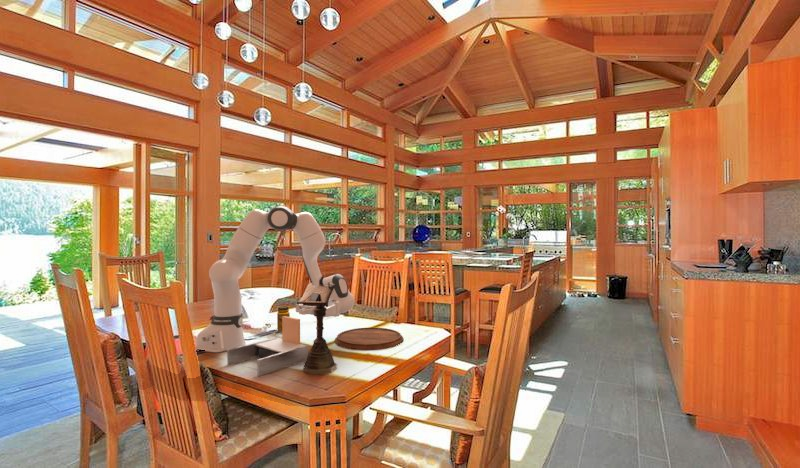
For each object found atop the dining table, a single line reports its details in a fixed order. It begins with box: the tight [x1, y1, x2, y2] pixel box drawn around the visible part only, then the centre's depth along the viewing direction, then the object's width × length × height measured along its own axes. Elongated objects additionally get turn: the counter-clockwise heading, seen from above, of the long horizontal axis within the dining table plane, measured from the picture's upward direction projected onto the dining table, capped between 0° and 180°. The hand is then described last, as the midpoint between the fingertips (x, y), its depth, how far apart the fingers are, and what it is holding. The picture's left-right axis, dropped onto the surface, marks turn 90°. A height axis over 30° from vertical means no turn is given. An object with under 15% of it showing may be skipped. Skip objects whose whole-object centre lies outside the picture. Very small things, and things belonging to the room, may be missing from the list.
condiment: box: [275, 305, 291, 333], centre depth 206 cm, size 7×8×12 cm
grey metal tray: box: [226, 337, 309, 377], centre depth 156 cm, size 22×21×6 cm
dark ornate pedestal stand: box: [295, 274, 338, 375], centre depth 146 cm, size 17×13×35 cm
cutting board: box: [334, 327, 404, 351], centre depth 187 cm, size 32×32×3 cm
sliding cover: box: [256, 316, 306, 353], centre depth 161 cm, size 11×18×11 cm, turn 53°
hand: (301, 312), depth 169 cm, fingers closed
